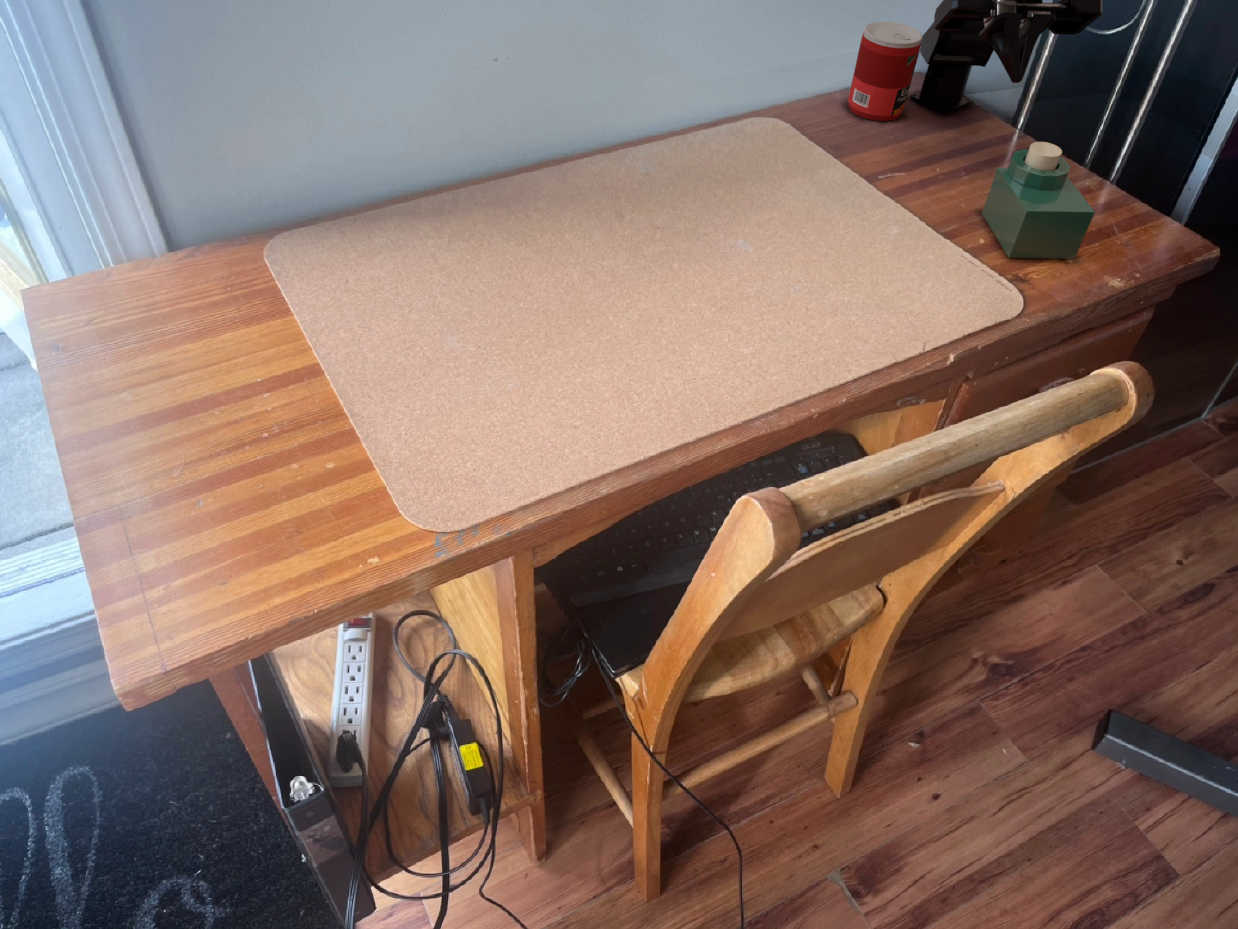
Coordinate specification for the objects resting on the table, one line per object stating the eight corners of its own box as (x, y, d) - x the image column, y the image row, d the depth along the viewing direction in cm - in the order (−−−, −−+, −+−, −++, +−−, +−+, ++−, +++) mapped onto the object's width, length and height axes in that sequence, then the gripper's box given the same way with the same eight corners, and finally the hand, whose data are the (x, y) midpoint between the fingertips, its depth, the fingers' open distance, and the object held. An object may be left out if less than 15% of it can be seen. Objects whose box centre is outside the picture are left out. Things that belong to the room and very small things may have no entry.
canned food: (902, 125, 138) (923, 46, 130) (845, 117, 139) (863, 38, 131) (902, 102, 143) (922, 25, 136) (847, 94, 144) (864, 17, 136)
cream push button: (1019, 157, 116) (1025, 141, 115) (1049, 157, 116) (1055, 141, 115) (1030, 172, 114) (1036, 155, 112) (1060, 172, 114) (1067, 156, 113)
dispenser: (978, 208, 122) (998, 147, 117) (1040, 209, 123) (1063, 149, 117) (1008, 258, 114) (1032, 196, 109) (1074, 259, 115) (1101, 197, 109)
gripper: (971, -87, 111) (971, 51, 111) (1129, -81, 112) (1130, 56, 112) (932, -37, 122) (932, 89, 122) (1077, -31, 123) (1077, 93, 123)
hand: (1017, 81), depth 120 cm, fingers closed
